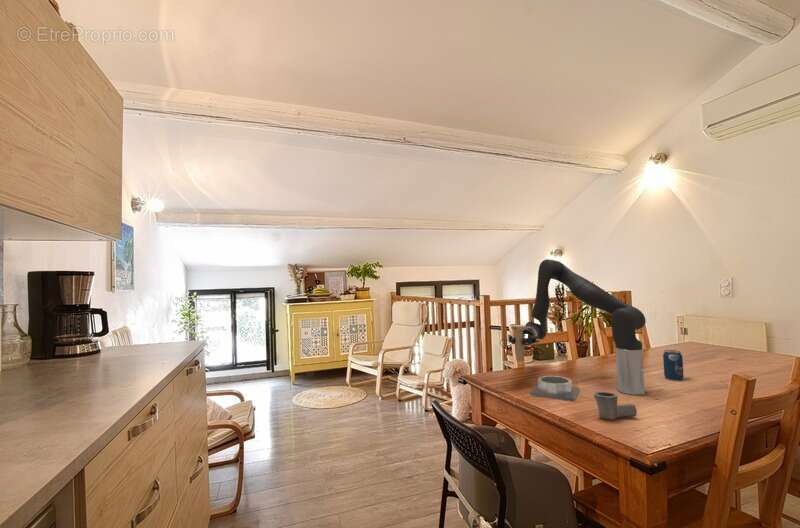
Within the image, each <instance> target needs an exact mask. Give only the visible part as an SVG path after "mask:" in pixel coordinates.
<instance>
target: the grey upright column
mask: <svg viewBox="0 0 800 528" xmlns="http://www.w3.org/2000/svg"><path fill="white" fill-rule="evenodd" d="M525 325H526V324H525ZM525 325H524V324H512V325H510V328H511V329H512V331H514V336H515V344H514V354H515V360H516V362H524V361H525V358H524V357H525V353H526V351H525V350H526V349H525V345H522V339H523V331H524V330H525V329H526V326H525Z"/></svg>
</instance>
